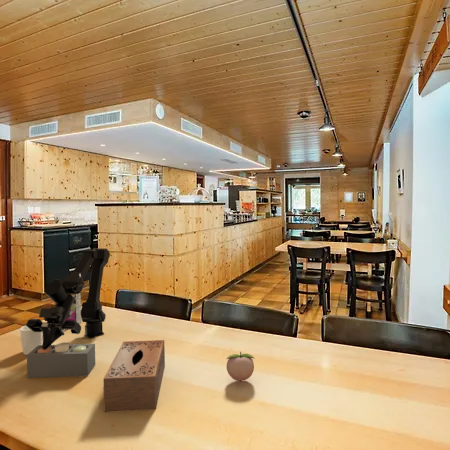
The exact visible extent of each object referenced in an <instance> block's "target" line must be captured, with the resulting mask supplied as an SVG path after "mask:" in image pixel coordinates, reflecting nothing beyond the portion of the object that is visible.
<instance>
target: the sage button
mask: <svg viewBox="0 0 450 450" xmlns="http://www.w3.org/2000/svg"><path fill="white" fill-rule="evenodd" d="M85 350H86V346H77V347H75V348H73V352H84V351H85Z"/></svg>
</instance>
